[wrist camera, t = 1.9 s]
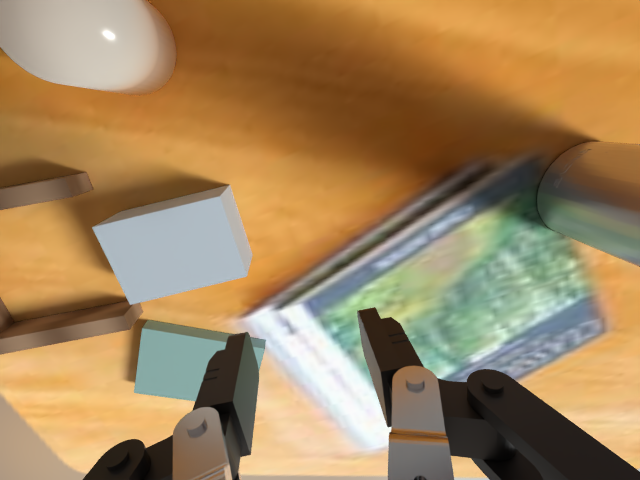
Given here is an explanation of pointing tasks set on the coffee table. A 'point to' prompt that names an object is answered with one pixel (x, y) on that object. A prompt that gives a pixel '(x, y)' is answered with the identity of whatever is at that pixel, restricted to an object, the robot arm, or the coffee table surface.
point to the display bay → (69, 326)
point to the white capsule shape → (90, 43)
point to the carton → (176, 244)
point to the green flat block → (179, 358)
